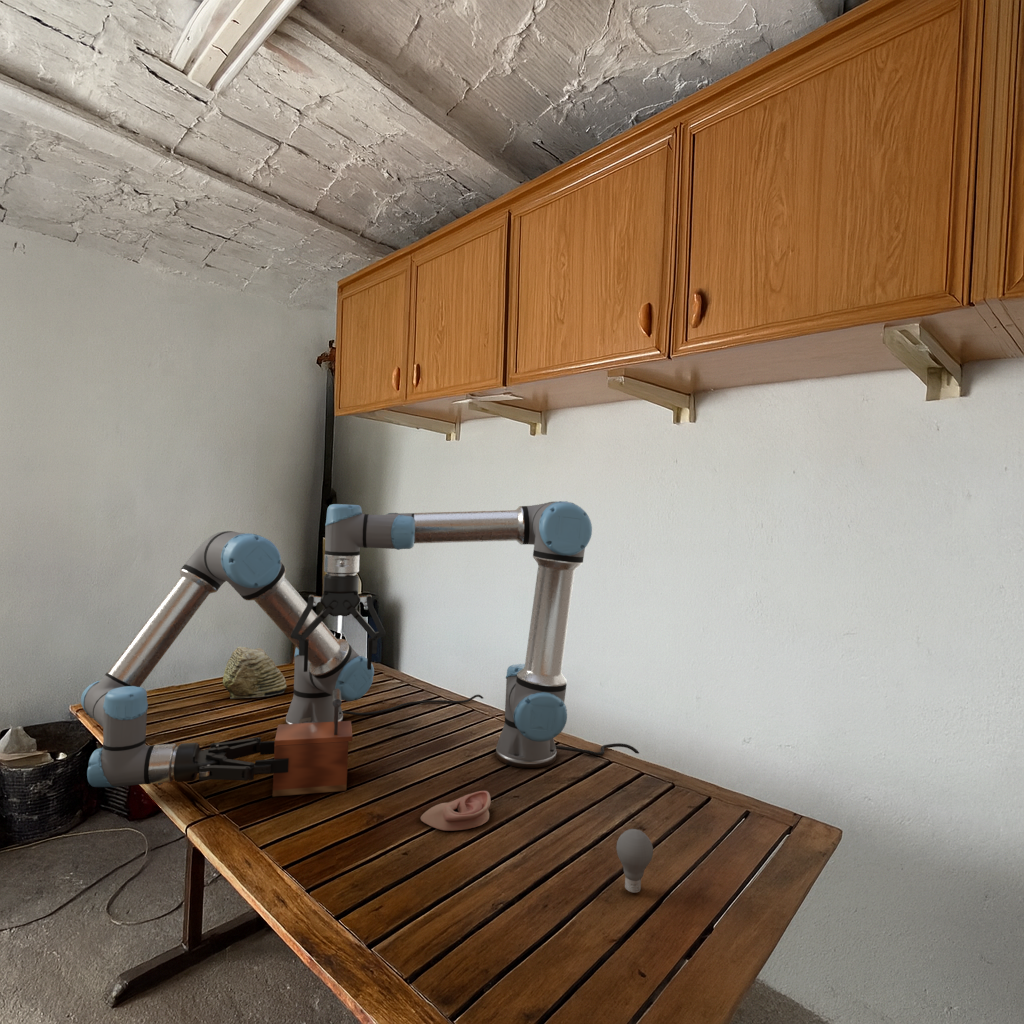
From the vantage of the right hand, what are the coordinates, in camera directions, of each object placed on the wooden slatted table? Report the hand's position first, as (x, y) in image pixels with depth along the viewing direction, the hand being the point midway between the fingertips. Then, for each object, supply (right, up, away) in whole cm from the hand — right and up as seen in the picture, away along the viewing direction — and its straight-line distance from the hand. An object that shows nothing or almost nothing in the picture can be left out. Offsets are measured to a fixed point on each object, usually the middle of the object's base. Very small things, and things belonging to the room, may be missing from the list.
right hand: (337, 669), depth 141 cm
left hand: (-10, -18, -2) cm, 21 cm away
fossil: (-42, -22, +57) cm, 74 cm away
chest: (-6, -25, -1) cm, 26 cm away
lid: (-5, -14, -1) cm, 15 cm away
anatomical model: (+27, -27, -13) cm, 41 cm away
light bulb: (+59, -29, -35) cm, 74 cm away
